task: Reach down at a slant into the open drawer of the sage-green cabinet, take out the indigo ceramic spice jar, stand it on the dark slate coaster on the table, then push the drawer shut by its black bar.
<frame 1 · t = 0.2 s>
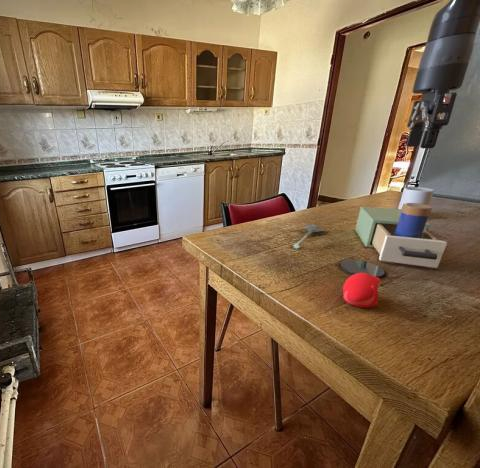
hand: (418, 147, 59), 29 cm above the table, tool pointing down, fingers open, 8 cm apart
grey spatula: (307, 238, 85), on the table
mug: (410, 215, 104), on the table
cabinet: (383, 240, 81), on the table
spice jar: (401, 252, 69), point 2 cm above the table, touching drawer
cap: (358, 302, 53), on the table
drawer: (404, 244, 68), point 4 cm above the table, slide at 10.0 cm, touching spice jar
coaster: (361, 269, 65), on the table
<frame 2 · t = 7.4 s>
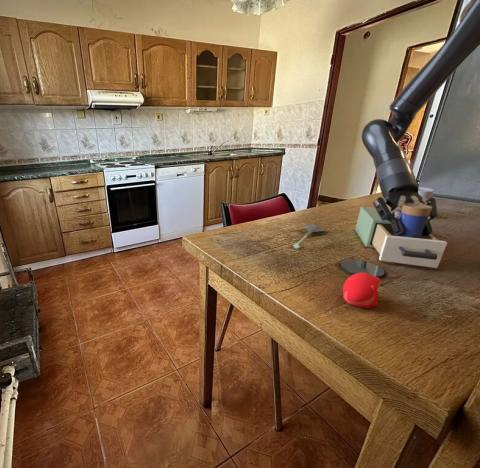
hand: (414, 234, 65), 8 cm above the table, tool tilted 45°, fingers closed on spice jar, 5 cm apart
spice jar: (401, 252, 69), point 2 cm above the table, touching drawer, gripper
everything else where it was.
when the fingers open (6 cm above the table, at t = 16.7 s): spice jar stays where it is, resting on coaster.
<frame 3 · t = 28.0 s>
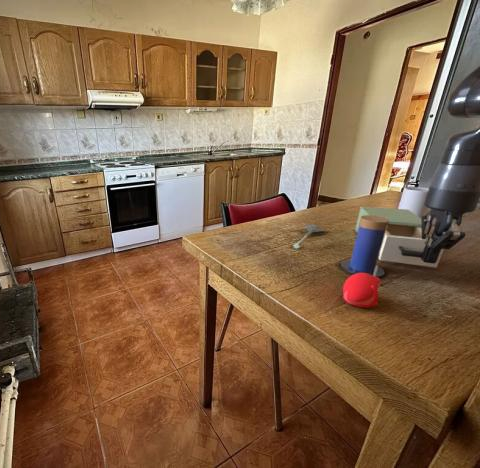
hand: (427, 261, 59), 4 cm above the table, tool pointing down, fingers closed
spice jar: (361, 267, 65), resting on coaster
drawer: (403, 244, 68), point 4 cm above the table, slide at 9.8 cm, touching gripper
everything else where it was.
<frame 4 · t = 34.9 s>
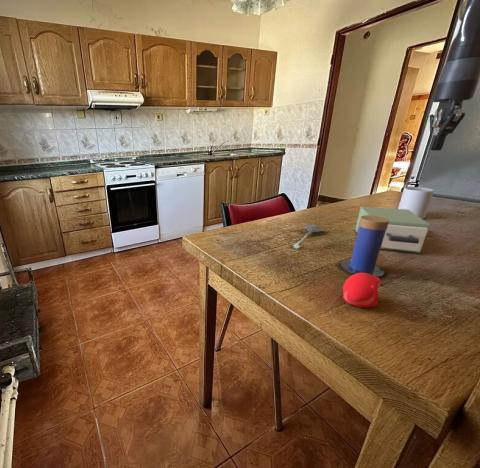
hand: (434, 150, 73), 27 cm above the table, tool pointing down, fingers closed
drawer: (391, 231, 77), point 4 cm above the table, slide at 0.0 cm, touching cabinet
everything else where it was.
at the end: spice jar 0.1 cm off-centre on the coaster, point 0.5 cm above the coaster's base; spice jar tilted 0°; drawer slide at 0.0 cm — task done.
